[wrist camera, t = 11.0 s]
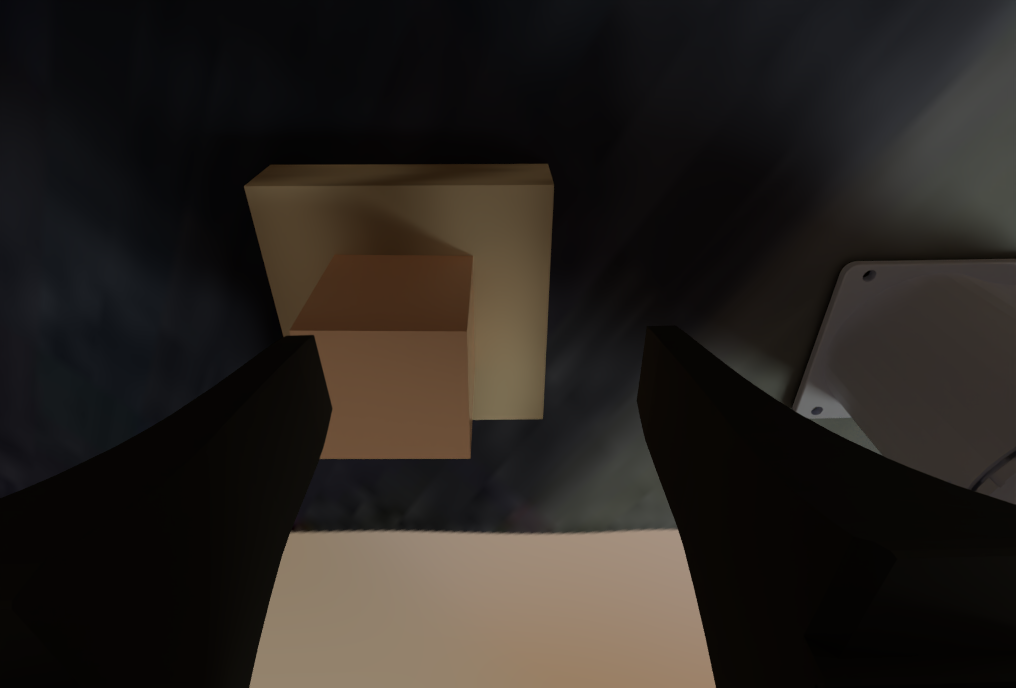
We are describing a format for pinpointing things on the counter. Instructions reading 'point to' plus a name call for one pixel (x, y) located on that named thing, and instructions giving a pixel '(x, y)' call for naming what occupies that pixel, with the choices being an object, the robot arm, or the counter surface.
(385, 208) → the oak block
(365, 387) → the brown cube
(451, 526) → the counter surface
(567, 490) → the counter surface
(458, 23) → the counter surface
